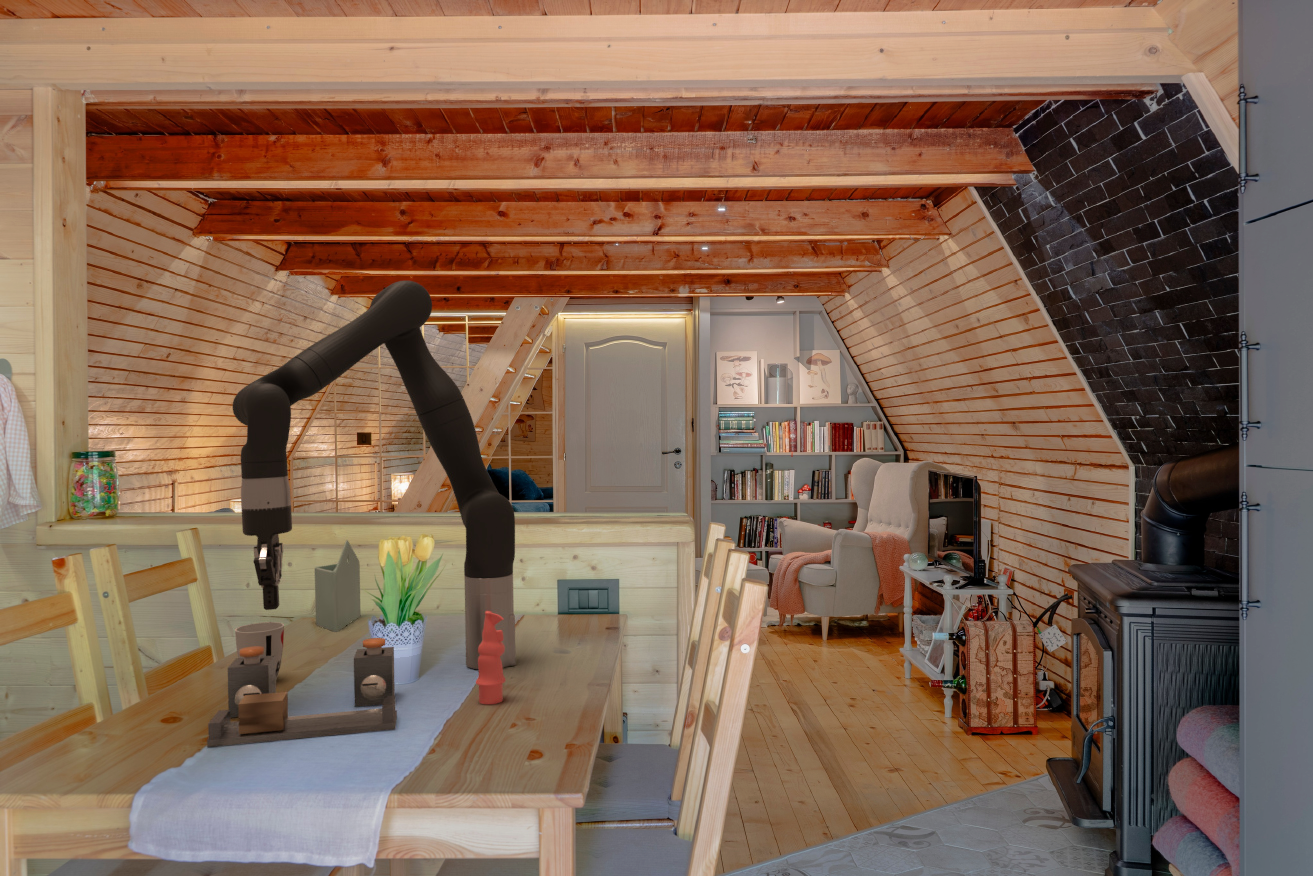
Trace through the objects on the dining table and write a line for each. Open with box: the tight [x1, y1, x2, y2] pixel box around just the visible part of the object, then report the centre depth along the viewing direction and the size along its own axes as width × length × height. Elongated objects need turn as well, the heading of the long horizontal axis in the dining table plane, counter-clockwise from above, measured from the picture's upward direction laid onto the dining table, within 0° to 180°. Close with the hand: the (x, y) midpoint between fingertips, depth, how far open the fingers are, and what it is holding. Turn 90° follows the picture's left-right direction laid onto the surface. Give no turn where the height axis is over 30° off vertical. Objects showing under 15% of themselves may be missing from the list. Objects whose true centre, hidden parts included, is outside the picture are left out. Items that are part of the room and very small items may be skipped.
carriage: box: [238, 691, 289, 734], centre depth 130 cm, size 6×4×4 cm
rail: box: [206, 694, 398, 748], centre depth 131 cm, size 26×6×3 cm, turn 104°
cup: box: [234, 621, 285, 681], centre depth 158 cm, size 8×8×10 cm
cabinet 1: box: [227, 655, 277, 719], centre depth 141 cm, size 6×6×8 cm
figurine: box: [475, 611, 506, 705], centre depth 145 cm, size 5×5×15 cm
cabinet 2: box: [353, 646, 396, 708], centre depth 146 cm, size 6×6×8 cm
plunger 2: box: [362, 637, 386, 655], centre depth 146 cm, size 4×4×4 cm
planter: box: [314, 539, 361, 633], centre depth 204 cm, size 16×8×20 cm, turn 1°
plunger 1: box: [240, 646, 264, 664], centre depth 142 cm, size 4×4×4 cm
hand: (271, 608), depth 144 cm, fingers closed
